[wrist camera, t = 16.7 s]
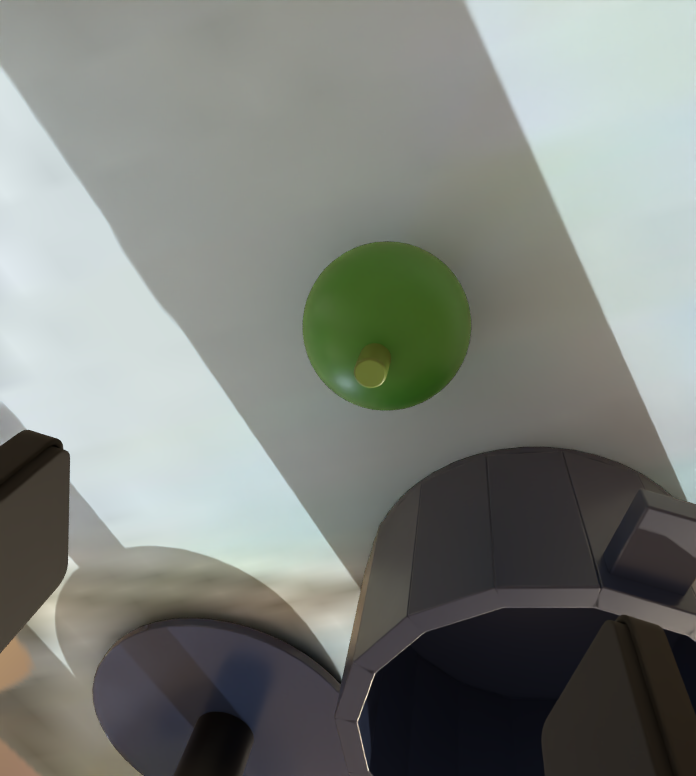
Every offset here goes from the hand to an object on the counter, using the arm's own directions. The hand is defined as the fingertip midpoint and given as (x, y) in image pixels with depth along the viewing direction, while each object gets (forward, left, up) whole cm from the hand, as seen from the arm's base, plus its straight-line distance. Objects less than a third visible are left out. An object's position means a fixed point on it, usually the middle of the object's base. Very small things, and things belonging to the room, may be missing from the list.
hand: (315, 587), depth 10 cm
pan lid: (-3, -28, -15) cm, 32 cm away
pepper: (0, 0, -16) cm, 16 cm away
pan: (+10, -12, -16) cm, 22 cm away
